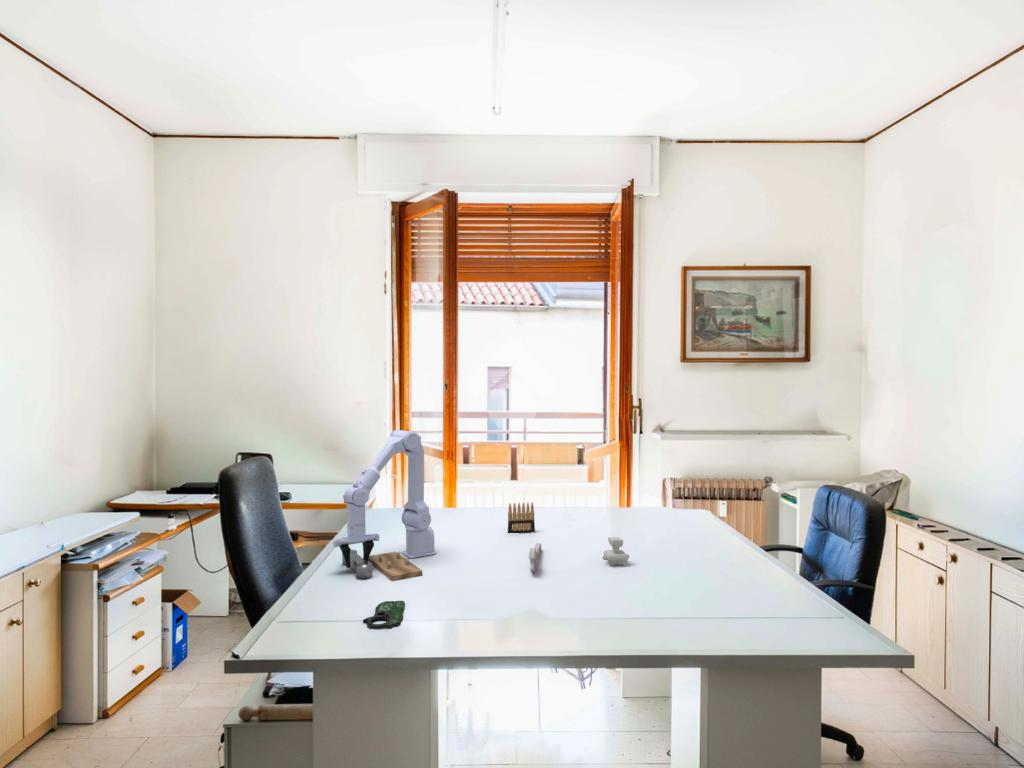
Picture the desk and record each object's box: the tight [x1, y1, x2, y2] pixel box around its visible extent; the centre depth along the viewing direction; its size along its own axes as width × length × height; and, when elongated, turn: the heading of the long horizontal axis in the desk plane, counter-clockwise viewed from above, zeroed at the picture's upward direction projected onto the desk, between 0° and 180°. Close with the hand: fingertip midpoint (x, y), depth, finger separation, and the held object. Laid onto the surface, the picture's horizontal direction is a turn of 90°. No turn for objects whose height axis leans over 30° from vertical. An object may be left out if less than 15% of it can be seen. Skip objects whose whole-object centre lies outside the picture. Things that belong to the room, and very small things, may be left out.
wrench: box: [528, 542, 542, 573], centre depth 209 cm, size 8×2×30 cm
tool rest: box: [368, 551, 423, 582], centre depth 205 cm, size 10×24×4 cm, turn 31°
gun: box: [362, 600, 406, 630], centre depth 165 cm, size 16×2×10 cm
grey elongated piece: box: [341, 549, 373, 581], centre depth 202 cm, size 5×21×4 cm, turn 31°
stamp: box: [602, 536, 630, 566], centre depth 207 cm, size 9×7×8 cm
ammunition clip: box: [507, 502, 536, 534], centre depth 247 cm, size 11×2×12 cm, turn 97°
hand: (356, 565), depth 202 cm, fingers open, 5 cm apart
